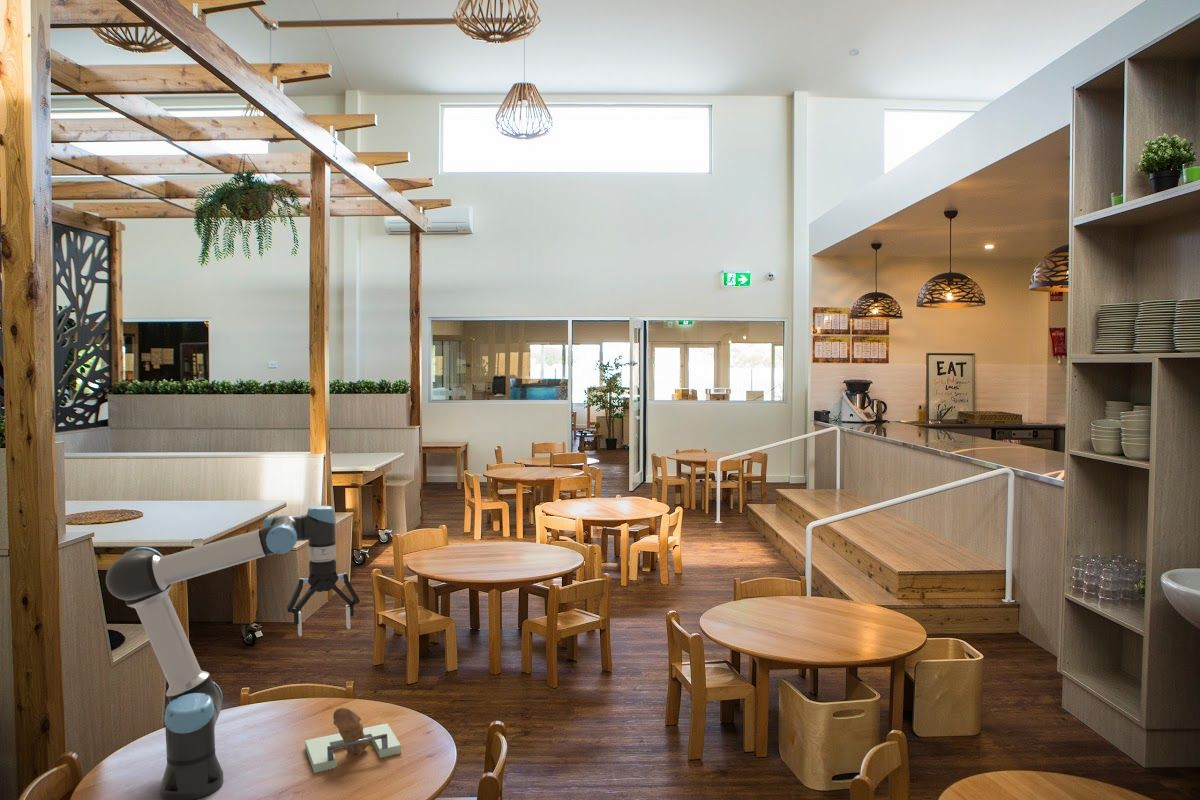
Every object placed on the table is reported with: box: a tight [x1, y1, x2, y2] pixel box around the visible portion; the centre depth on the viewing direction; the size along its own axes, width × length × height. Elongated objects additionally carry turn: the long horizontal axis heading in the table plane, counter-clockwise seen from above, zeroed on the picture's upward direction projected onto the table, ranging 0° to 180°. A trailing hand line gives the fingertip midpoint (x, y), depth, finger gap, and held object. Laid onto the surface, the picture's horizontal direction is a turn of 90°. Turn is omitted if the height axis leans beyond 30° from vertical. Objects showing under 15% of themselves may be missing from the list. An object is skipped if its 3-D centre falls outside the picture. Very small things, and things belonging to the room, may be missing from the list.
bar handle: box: [327, 734, 388, 761], centre depth 237 cm, size 16×1×4 cm, turn 117°
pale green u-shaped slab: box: [304, 722, 402, 774], centre depth 244 cm, size 24×17×2 cm
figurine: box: [332, 707, 370, 755], centre depth 241 cm, size 8×8×15 cm
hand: (324, 631), depth 246 cm, fingers open, 13 cm apart
